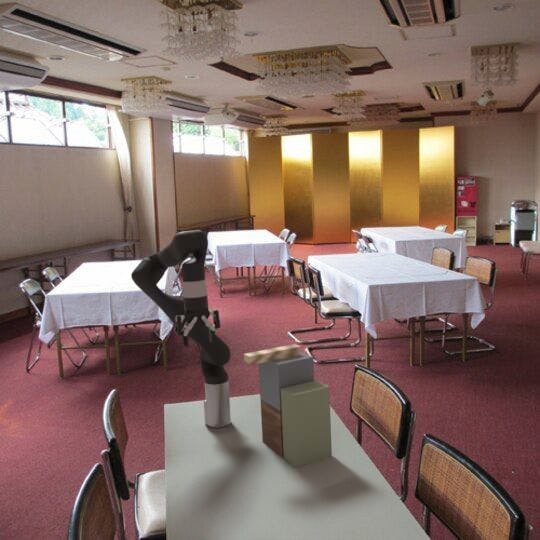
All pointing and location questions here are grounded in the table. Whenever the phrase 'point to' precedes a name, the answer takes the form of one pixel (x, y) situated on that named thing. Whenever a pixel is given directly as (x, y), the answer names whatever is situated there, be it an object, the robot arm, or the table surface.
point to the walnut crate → (272, 427)
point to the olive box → (306, 422)
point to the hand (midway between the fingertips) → (199, 344)
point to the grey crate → (284, 376)
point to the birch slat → (272, 354)
